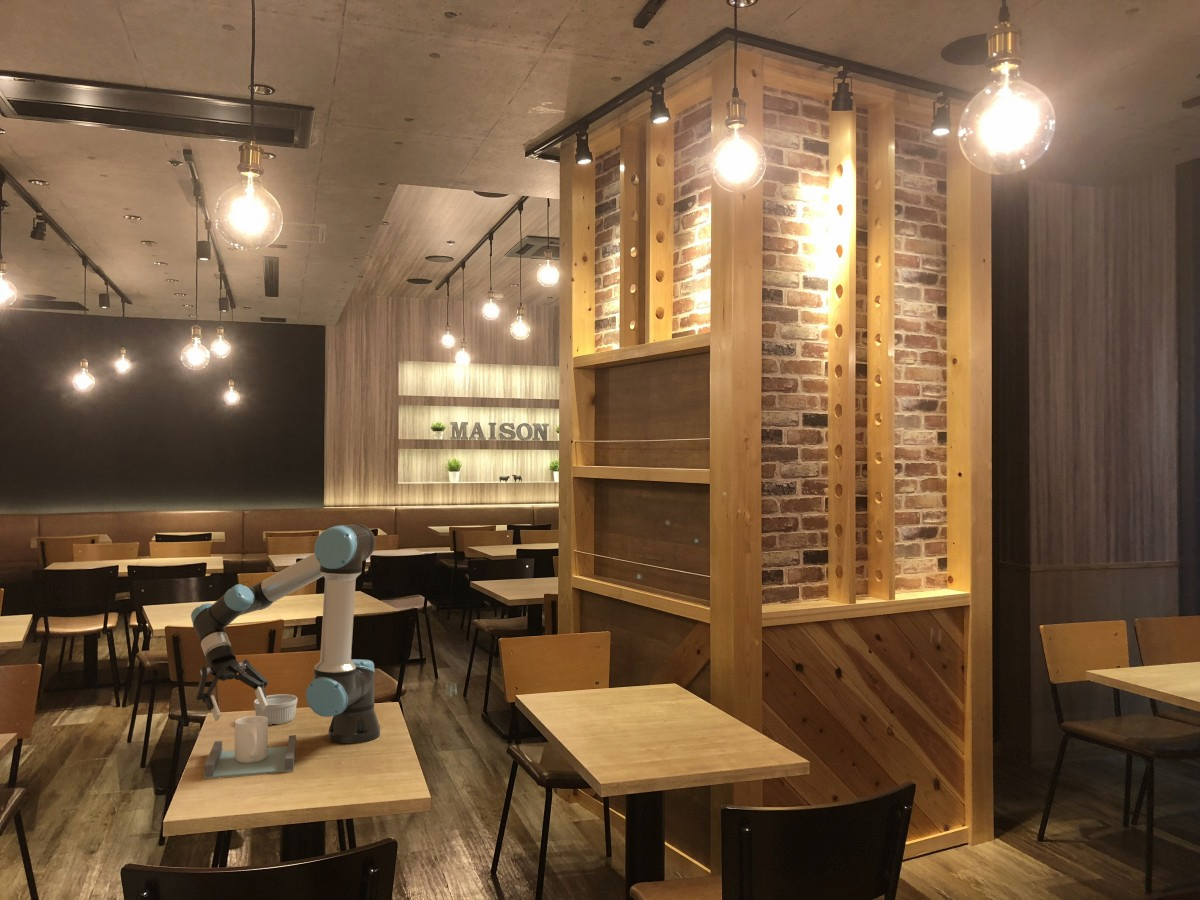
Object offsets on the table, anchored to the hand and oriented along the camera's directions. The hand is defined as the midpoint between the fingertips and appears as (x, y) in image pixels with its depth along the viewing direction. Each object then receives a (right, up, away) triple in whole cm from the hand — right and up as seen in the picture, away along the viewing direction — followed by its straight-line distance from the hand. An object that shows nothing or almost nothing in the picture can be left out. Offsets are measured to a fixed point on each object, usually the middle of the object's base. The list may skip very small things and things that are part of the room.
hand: (242, 713), depth 260 cm
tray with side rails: (+4, -13, -4) cm, 14 cm away
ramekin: (-4, -14, +38) cm, 41 cm away
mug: (+4, -12, -4) cm, 13 cm away
